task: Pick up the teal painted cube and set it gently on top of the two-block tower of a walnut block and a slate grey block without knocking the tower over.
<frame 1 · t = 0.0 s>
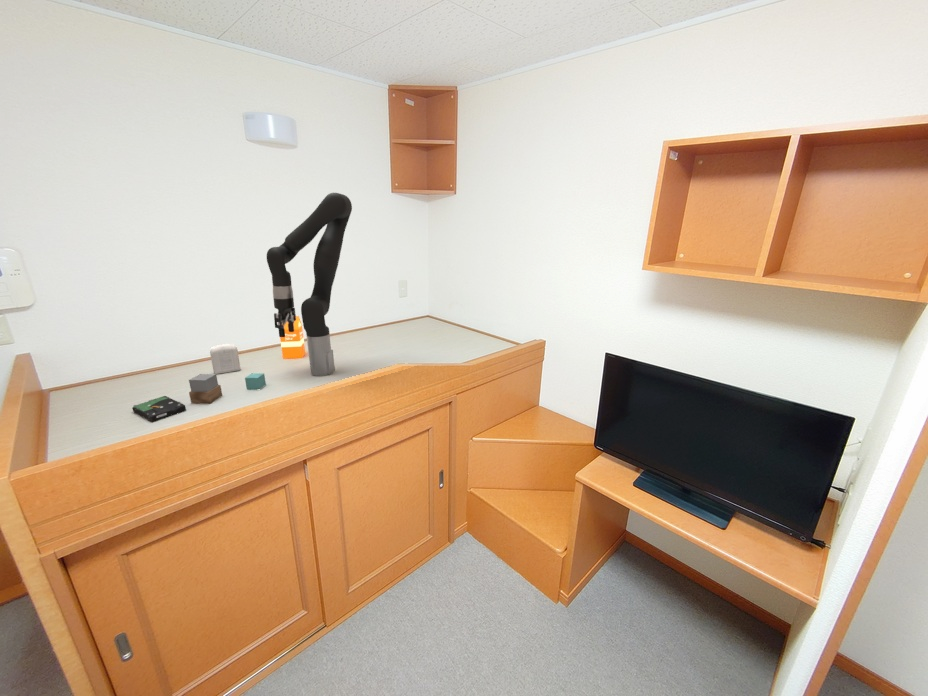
hand: (287, 334, 167), 17 cm above the table, tool pointing down, fingers open, 8 cm apart
photo printer: (227, 371, 173), on the table
teal block: (256, 387, 156), on the table
walnut base: (207, 399, 145), on the table, touching slate block
slate block: (205, 388, 143), point 4 cm above the table, touching walnut base
disk drive: (160, 412, 136), on the table
orange juice: (294, 356, 193), on the table
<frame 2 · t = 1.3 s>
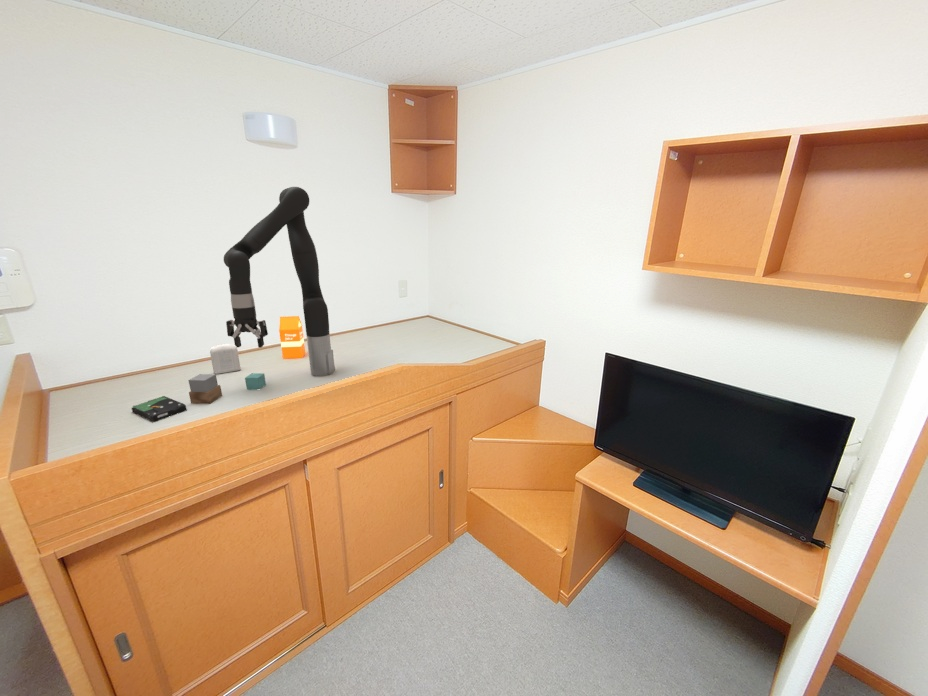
hand: (249, 347, 151), 17 cm above the table, tool pointing down, fingers open, 8 cm apart
nothing on the table moved.
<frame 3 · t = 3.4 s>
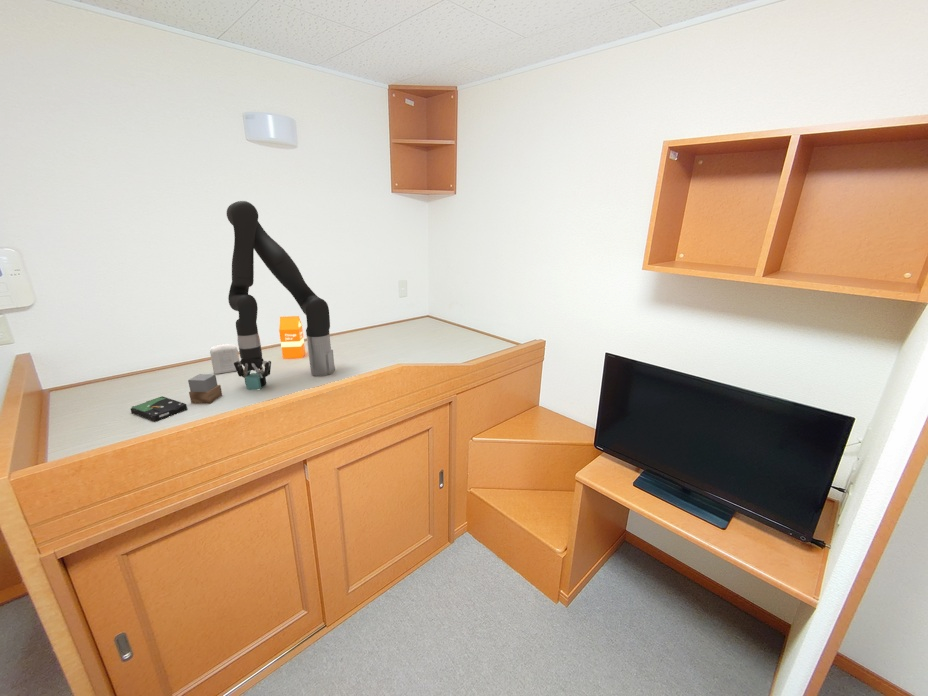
hand: (256, 385, 156), 0 cm above the table, tool pointing down, fingers closed on teal block, 5 cm apart
teal block: (256, 387, 156), on the table, touching gripper
everything else where it was.
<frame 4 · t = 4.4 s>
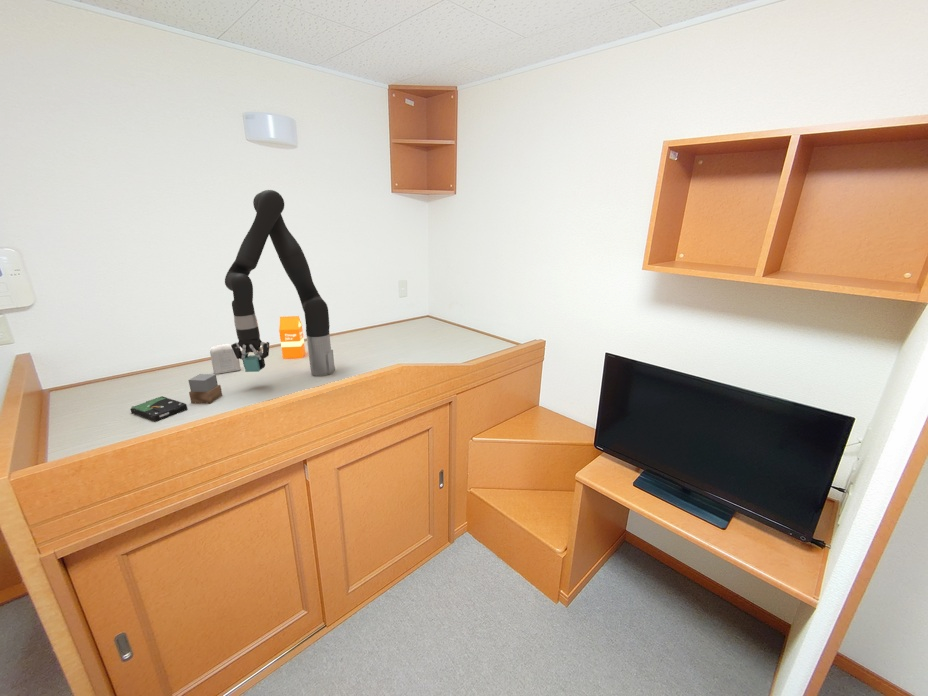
hand: (255, 368, 153), 8 cm above the table, tool pointing down, fingers closed on teal block, 5 cm apart
teal block: (255, 369, 154), point 8 cm above the table, touching gripper
everything else where it was.
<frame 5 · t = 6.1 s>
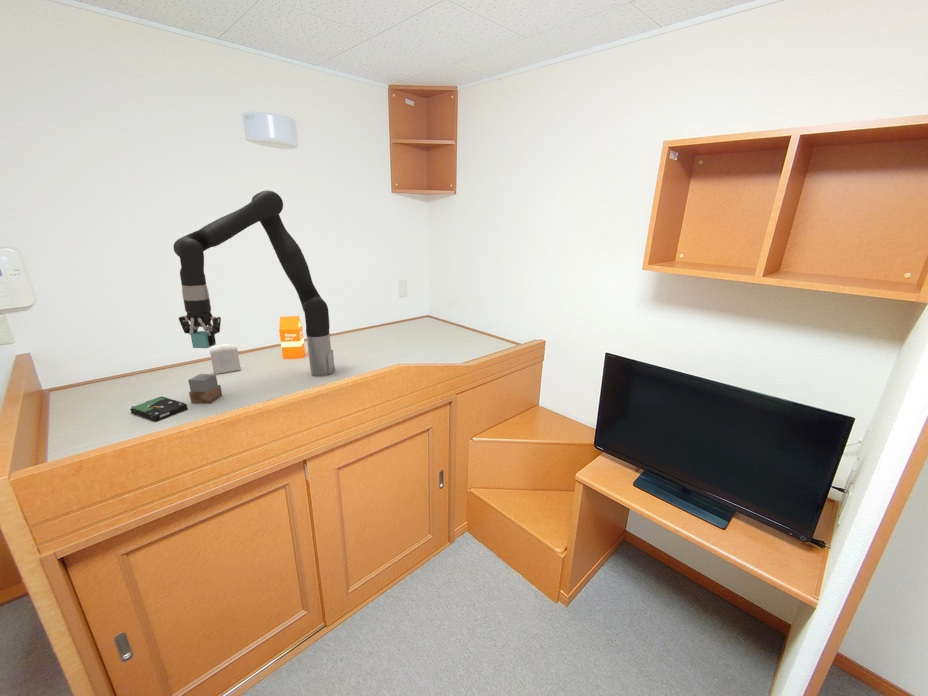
hand: (204, 344, 141), 20 cm above the table, tool pointing down, fingers closed on teal block, 5 cm apart
teal block: (204, 346, 141), point 20 cm above the table, touching gripper
walnut base: (207, 399, 145), on the table
slate block: (204, 388, 143), point 4 cm above the table
everything else where it was.
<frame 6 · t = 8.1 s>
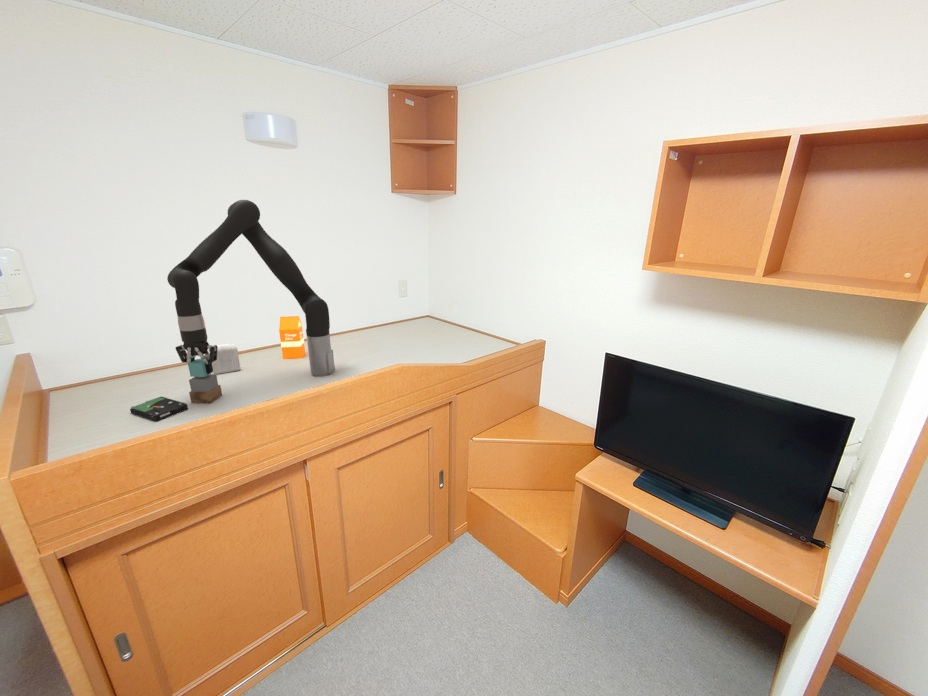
hand: (201, 372, 142), 10 cm above the table, tool pointing down, fingers closed on teal block, 5 cm apart
teal block: (202, 374, 142), point 10 cm above the table, touching gripper
walnut base: (207, 399, 145), on the table, touching slate block
slate block: (205, 388, 144), point 4 cm above the table, touching walnut base
everything else where it was.
when the fingers open (10 cm above the table, at t = 8.1 s): teal block drops 1 cm, resting on slate block.
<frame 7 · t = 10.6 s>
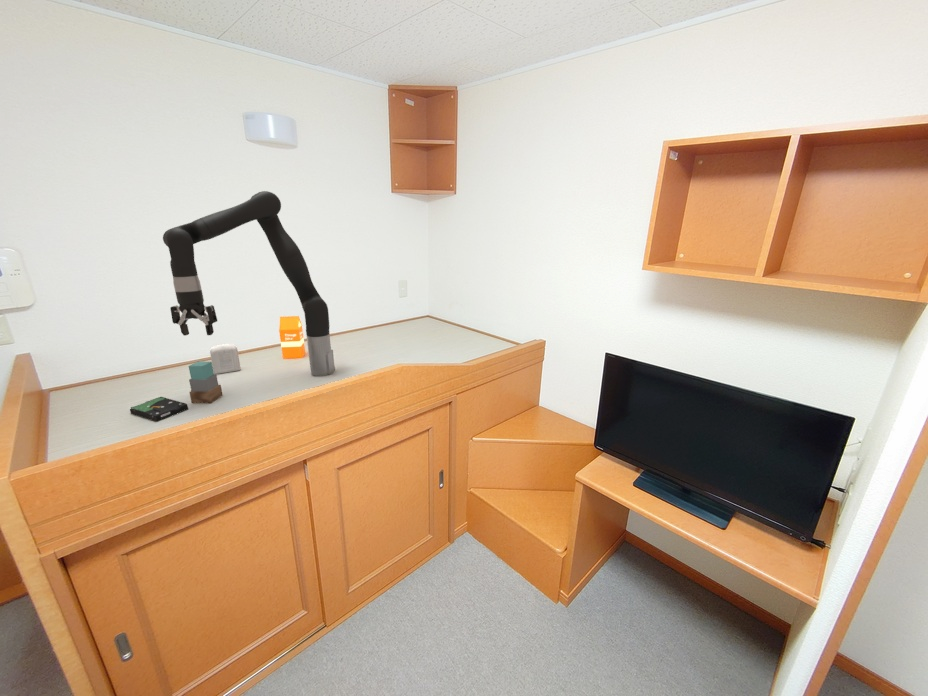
hand: (198, 334, 139), 24 cm above the table, tool pointing down, fingers open, 8 cm apart
teal block: (202, 376, 142), point 9 cm above the table, touching slate block
slate block: (205, 388, 144), point 4 cm above the table, touching teal block, walnut base
everything else where it was.
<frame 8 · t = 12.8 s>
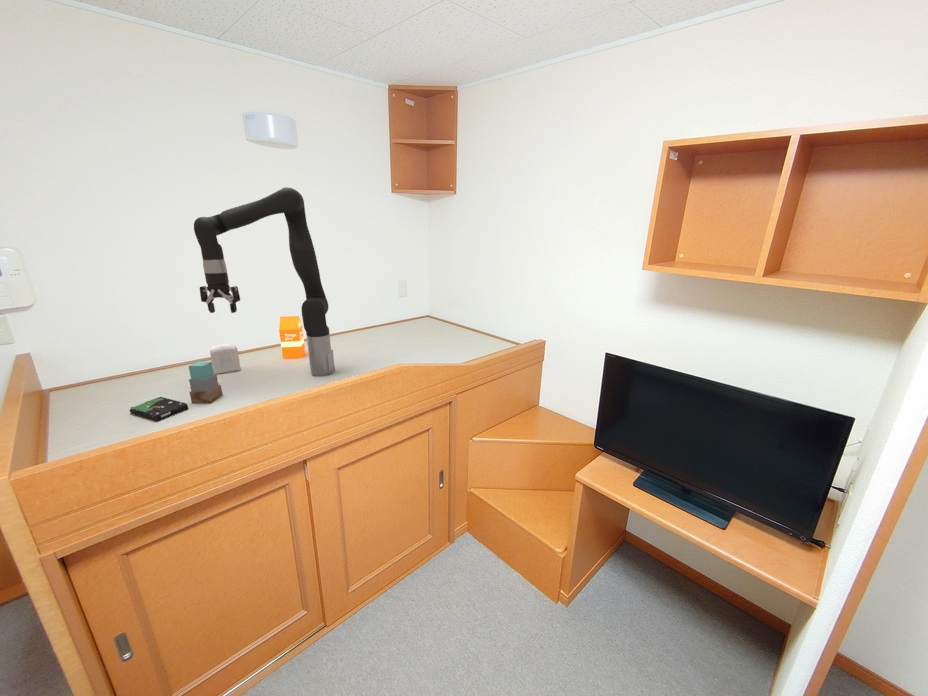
hand: (223, 312, 156), 28 cm above the table, tool pointing down, fingers open, 8 cm apart
walnut base: (207, 399, 145), on the table
slate block: (205, 388, 143), point 4 cm above the table, touching teal block
everything else where it was.
at the end: teal block 0.3 cm off-centre on the slate block, point 4.5 cm above the slate block's base; slate block 0.1 cm off-centre on the walnut base, point 4.5 cm above the walnut base's base; the gripper is holding nothing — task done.
